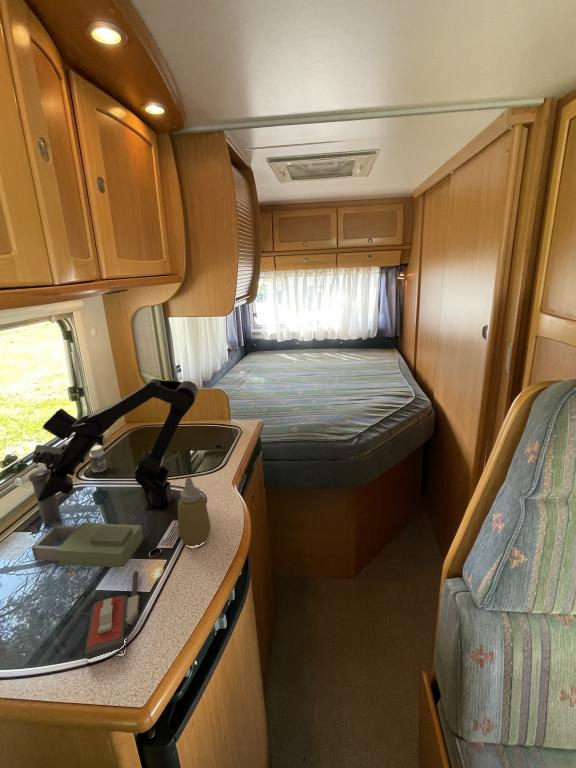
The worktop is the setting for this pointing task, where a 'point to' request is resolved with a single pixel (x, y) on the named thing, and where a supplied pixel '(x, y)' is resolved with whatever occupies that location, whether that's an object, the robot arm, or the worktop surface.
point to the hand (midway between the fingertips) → (39, 496)
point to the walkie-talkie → (111, 622)
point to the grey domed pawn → (49, 505)
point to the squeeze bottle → (192, 516)
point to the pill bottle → (97, 459)
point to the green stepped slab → (90, 544)
